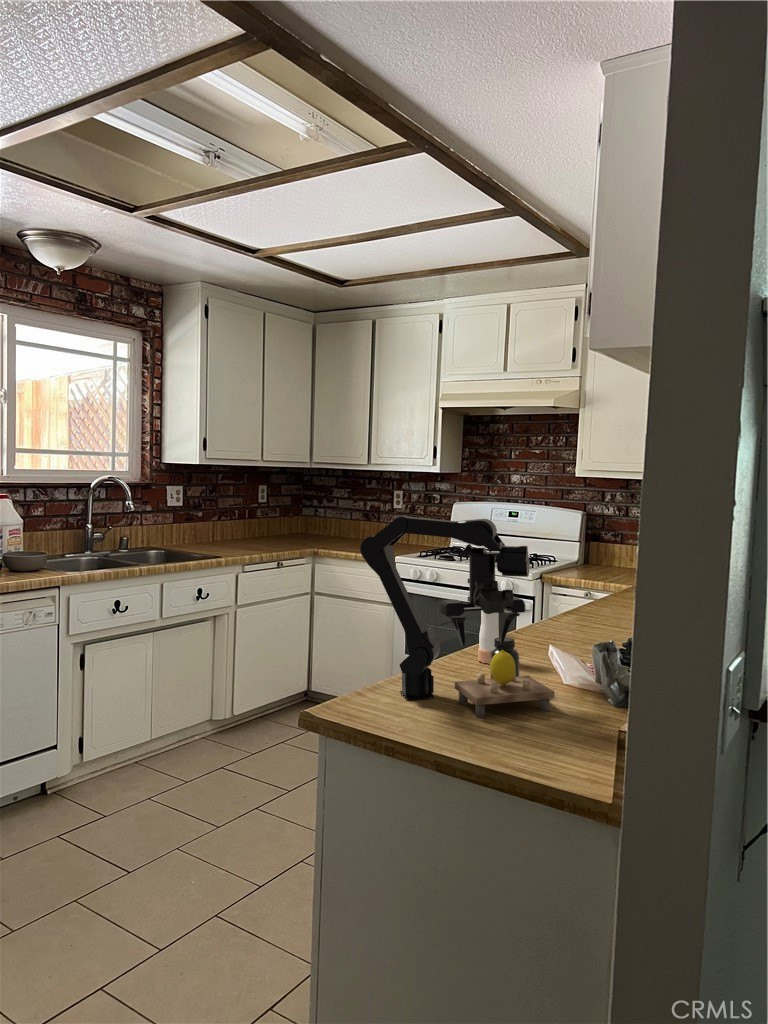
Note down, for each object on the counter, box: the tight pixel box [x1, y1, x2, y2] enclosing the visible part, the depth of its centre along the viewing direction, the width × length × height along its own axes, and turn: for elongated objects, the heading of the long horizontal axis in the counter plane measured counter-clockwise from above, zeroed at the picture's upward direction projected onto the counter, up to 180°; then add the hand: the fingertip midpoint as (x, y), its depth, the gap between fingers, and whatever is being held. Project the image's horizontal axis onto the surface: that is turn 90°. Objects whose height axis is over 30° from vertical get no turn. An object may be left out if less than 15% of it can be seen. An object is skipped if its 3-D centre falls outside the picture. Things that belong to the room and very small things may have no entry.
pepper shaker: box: [477, 610, 499, 664], centre depth 209 cm, size 7×7×19 cm
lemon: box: [489, 650, 516, 686], centre depth 169 cm, size 6×6×8 cm
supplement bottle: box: [490, 636, 520, 679], centre depth 183 cm, size 7×7×12 cm
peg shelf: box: [454, 672, 555, 719], centre depth 169 cm, size 18×13×6 cm
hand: (482, 644), depth 173 cm, fingers open, 9 cm apart
